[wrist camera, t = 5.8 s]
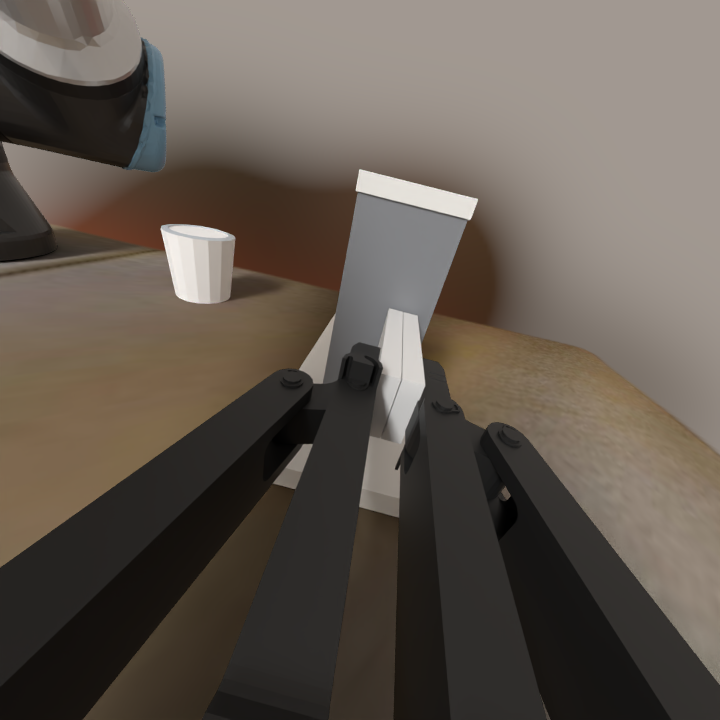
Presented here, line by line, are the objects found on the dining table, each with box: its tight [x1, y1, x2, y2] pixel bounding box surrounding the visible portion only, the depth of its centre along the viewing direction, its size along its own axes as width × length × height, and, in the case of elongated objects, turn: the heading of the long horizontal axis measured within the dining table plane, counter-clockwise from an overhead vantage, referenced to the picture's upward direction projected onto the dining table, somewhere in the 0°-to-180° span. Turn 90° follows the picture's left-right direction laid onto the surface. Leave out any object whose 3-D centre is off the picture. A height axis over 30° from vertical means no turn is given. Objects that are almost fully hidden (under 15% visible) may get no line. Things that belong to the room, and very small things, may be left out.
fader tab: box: [323, 170, 478, 384], centre depth 16 cm, size 3×5×13 cm, turn 81°
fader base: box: [273, 313, 405, 518], centre depth 26 cm, size 26×10×2 cm, turn 172°
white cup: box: [161, 224, 235, 304], centre depth 31 cm, size 7×7×7 cm
